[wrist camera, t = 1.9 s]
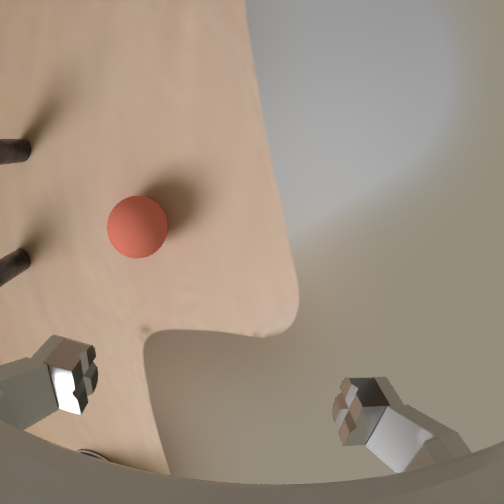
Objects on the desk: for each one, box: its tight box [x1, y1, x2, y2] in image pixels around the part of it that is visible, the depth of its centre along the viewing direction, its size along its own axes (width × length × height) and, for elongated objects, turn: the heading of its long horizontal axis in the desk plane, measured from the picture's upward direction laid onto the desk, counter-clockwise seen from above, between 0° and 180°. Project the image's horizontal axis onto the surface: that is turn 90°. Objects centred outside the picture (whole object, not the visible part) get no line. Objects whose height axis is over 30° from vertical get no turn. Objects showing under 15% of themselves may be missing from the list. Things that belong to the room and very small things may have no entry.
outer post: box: [0, 249, 30, 287], centre depth 25 cm, size 3×3×9 cm
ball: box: [107, 196, 168, 258], centre depth 27 cm, size 6×6×6 cm
